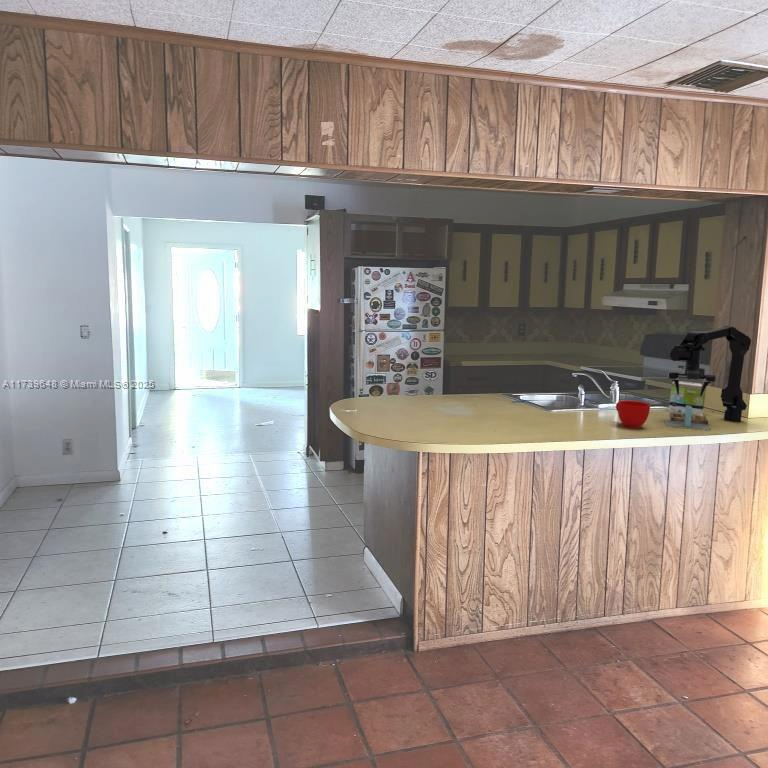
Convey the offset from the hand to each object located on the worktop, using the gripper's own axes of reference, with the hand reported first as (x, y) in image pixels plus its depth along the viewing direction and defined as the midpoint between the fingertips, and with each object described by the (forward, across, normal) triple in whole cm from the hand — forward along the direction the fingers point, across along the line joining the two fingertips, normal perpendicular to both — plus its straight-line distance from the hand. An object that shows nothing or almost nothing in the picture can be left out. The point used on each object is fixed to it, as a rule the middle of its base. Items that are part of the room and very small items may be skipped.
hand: (689, 395), depth 298 cm
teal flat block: (+12, -1, -8) cm, 14 cm away
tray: (+13, +1, +5) cm, 14 cm away
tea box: (+13, +2, +26) cm, 29 cm away
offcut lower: (+12, +5, +5) cm, 14 cm away
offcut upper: (+11, +5, +5) cm, 13 cm away
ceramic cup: (+12, -25, -18) cm, 33 cm away
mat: (+12, -1, -8) cm, 15 cm away
